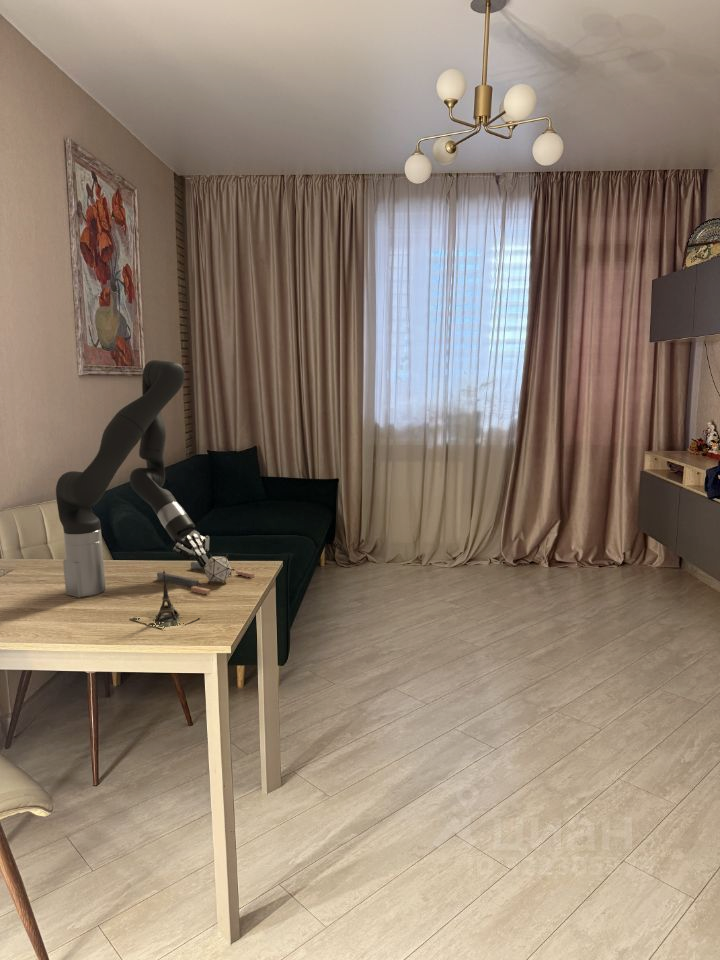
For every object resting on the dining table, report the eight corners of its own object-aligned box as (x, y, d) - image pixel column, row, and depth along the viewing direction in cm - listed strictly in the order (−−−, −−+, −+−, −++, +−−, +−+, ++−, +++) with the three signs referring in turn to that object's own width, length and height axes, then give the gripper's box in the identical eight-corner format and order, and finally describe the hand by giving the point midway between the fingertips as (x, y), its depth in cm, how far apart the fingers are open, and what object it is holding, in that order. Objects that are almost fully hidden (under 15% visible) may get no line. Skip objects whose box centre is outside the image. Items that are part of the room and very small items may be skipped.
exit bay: (207, 595, 168) (206, 590, 168) (191, 591, 172) (191, 587, 171) (254, 577, 183) (254, 573, 183) (239, 574, 187) (239, 570, 187)
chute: (195, 588, 174) (195, 581, 174) (157, 579, 183) (156, 573, 182) (231, 575, 185) (231, 569, 185) (194, 567, 194) (193, 561, 194)
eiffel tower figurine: (127, 621, 151) (123, 568, 149) (161, 609, 160) (158, 558, 158) (169, 634, 143) (165, 577, 141) (202, 620, 151) (199, 566, 150)
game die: (225, 593, 181) (244, 563, 182) (215, 592, 173) (236, 561, 174) (200, 576, 183) (220, 547, 184) (190, 574, 175) (210, 544, 176)
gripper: (163, 517, 178) (196, 565, 173) (198, 509, 189) (230, 554, 184) (152, 533, 182) (184, 580, 177) (187, 524, 193) (218, 568, 188)
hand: (207, 567), depth 181 cm, fingers closed
